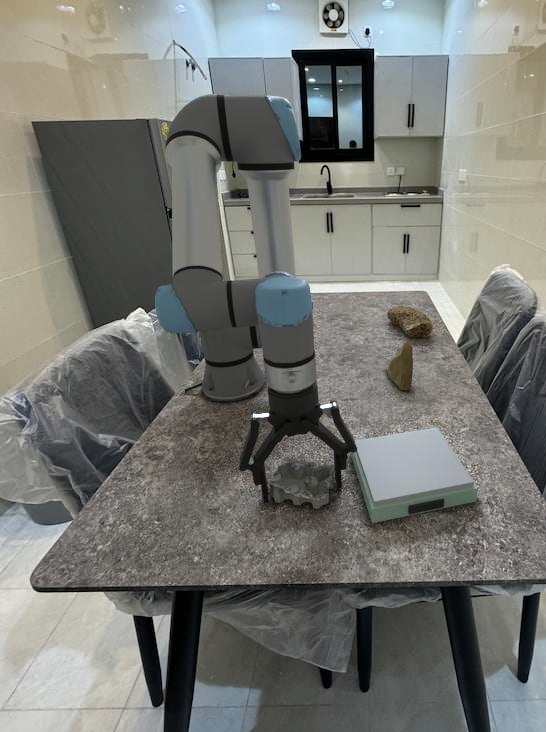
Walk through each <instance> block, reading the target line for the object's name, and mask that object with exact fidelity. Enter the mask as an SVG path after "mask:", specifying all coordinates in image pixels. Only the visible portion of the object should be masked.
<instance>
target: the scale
mask: <svg viewBox="0 0 546 732" xmlns="http://www.w3.org/2000/svg"><path fill="white" fill-rule="evenodd" d="M354 441H355V443H356V446H357V451H356V452H354V453H352V452H350V456H351V460H352V463H353V466H354V470H355V473H356V476H357V479H358V483H359V486H360V489H361V493H362V496H363V499H364V502H365V506H366V508H367V512H368V516H369V519H370V522H371V524H376V523H380V522H386V521H390V520H395V519H400V518H405V517H409V516H413V515H418V514H424V513H427V512H433V511H438V510H444V509H448V508H451V507H457V506H462V505H466V504H470V503H476V502H477V496H478V491H479V490H478V489H479V488H478V486H477V485H476V484H475V481H474V480H473V478H472V477H471V475H470V474H469V472H468V470H467V469H466V468H465V466H464V465H463V463H462V461H461V460H460V459H459V458H458V456H457V454H456V453H455V451H454V449H452V447H451V446H450V444H449V443H448V441H447V440H446V438H445V437H444V435H443V434H442V432H441V431H440V429H439V427H438V426H436V427H429V428H423V429H418V430H417V429H416V430H411V431H405V432H399V433H398V432H397V433H393V434H387V435H381V436H375V437H368V438H362V439H354Z"/></svg>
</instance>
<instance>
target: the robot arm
mask: <svg viewBox="0 0 546 732" xmlns="http://www.w3.org/2000/svg"><path fill="white" fill-rule="evenodd" d="M165 159H166V161H167V163H168V165H169V167H170V168H171V224H172V227H171V231H172V233H171V237H172V238H171V240H172V242H171V243H172V244H171V245H172V249H171V250H172V253H171V254H172V283H168V284H167V285H161V286H158V288H157V289H156V292H155V296H154V306H155V313H156V317H157V320H158V323H159V325H160V327H162V329H163V331H164V332H167V333H169V334H192V333H193V334H197V333H198V334H199V337H200V342H201V348H202V353H203V358H204V362H205V366H204V372H203V378H202V382H200V383H197V384H195V385H192V386H189V387H187V388H184V392H185V393H187V392H189V391H192V390H195V389H196V388H199V387H202V393H203V395H204V397H205V398H207V399H208V400H210V401H213V402H219V403H232V402H238V401H242V400H245V399H248V398H250V397H252V396H254V395H256V394H257V393H259V392H260V391H261V390H262V389H263V388H264V387H265V384H266V385H267V387H266V391H267V398H268V405H269V409H268V411H267V412H265V413H259V412H258V411H257V410H253V411H251V412H250V414H249V415H250V420H249V429H248V433H247V435H246V438H245V441H244V445H243V447H242V450H241V453H240V456H239V461H238V462H239V464H238V470H239V471H240V472H246V471H250V472H251V474H252V475H251V476H252V481H253V484H254V486H255V487H256V486H260V487H261V493H262V499H263V503H264V504H265V503H269V484H268V485H266V483H267V482H268V480H267V471H266V465H265V464H266V463H265V462H266V461H267V460H268V459H269V457H270V455H271V454H272V452H273V451H274V449H275V448H276V447H277V445H278V444H279V443H281V442H282V440H283V439H284V437H285V436H287V438H290V437H291V438H292V437H294V436H297V435H299V436H300V435H301V436H303V435H308V433H309V432H310V434H312V435H313V436H314V437H316V438H318V439H320V440H321V441H322V442H323V443H324V444H325V445H326V446H328V447H329V448H330V449H331V450H332V451H333V465H335V469H334V481H335V485H336V489H338V490H339V489H342V488H343V485H342V484H343V482H342V471H345V470H347V468H348V464H347V463H348V458H349V456H348V454H349V453H351V452H352V453H354V452H356V451H357V446H356V443H355V438H354V436H353V434H352V433H351V431H350V430H349V428H348V426H347V424H346V423H345V421H344V419H343V417H342V416H341V412H340V407H339V403H338V402H337V400H336V399H331V400H330V401H329V403H327V404H322V405H321V404H320V402H319V388H318V387H319V386H318V380H317V378H318V373H317V361H316V360H317V359H316V350H315V335H314V332H315V331H314V318H313V317H314V315H313V313H314V312H313V310H314V302H313V299H312V293H311V286H310V284H309V283H308V282H307V281H306V280H305V279H301V278H300V277H297V271H296V259H295V247H294V234H293V222H292V209H291V197H290V186H289V185H290V183H289V179H290V177H291V176H292V175H293V173H294V172H295V162H296V163H298V162H299V161H300V160H301V159H302V151H301V142H300V136H299V130H298V125H297V121H296V116H295V112H294V110H293V106H292V104H291V103H290V101H289V100H288V99H287V98H286V97H283V96H276V95H268V94H217V93H209V94H208V93H207V94H204V95H201V96H198V97H196V98H194V99H192V100H190V101H189V102H188V103H187V104H185V105H184V106H183V107H182V108H181V109H180V110H179V111H178V112H177V114H176V115H175V116H174V118H173V120H172V122H171V123H170V126H169V128H168V131H167V134H166V139H165ZM223 162H227V163H231V162H233V163H236V164H237V165H236V166H237V171H238V173H239V174H240V175H241V176H243V177H244V179H245V181H246V184H247V192H248V201H249V208H250V209H249V210H250V216H251V223H252V232H253V240H254V248H255V257H256V263H257V272H258V278H247V279H236V280H224V266H223V264H224V263H223V254H222V236H221V219H220V205H219V187H218V173H219V171H220V170H221V167H222V163H223ZM255 349H262V357H263V358H262V359H263V368H264V372H263V370H262V368H261V366H260V364H259V363H258V360H257V359H256V357H255V354H254V350H255ZM323 415H326V417H327V418H329V419H330V420H332V421H333V424H334V425H335V427H336V430H337V431H338V433H339V434H340V436H341V438H342V439H343V441H344V442H343V441H342V440H341V439H339V437H337V436H336V435H335V434H334V433H333V432H332V431H331V430H330V429H329V428H328V427H327V426H325V425H324V424H323V423H322V422H321V420H320V419H321V418H322V416H323ZM266 423H268V424H270V425H271V426H272V427H271V430H270V431H269V433H268V434H267V436H266V438H264V440H263V442H262V443H261V444H260V446H259V447H258V449H257V450H256V451H255V454H253V453H254V449H255V446H256V444H257V441H258V438H259V435H260V431H261V430H262V429H263V428H264V427H265V424H266Z"/></svg>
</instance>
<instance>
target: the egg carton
mask: <svg viewBox="0 0 546 732" xmlns="http://www.w3.org/2000/svg"><path fill="white" fill-rule="evenodd" d="M334 469H335V465H334V464H321V463H317V462H316V461H306V460H300V459H297V458H294V457H289V458H286V459H284V460H282V461H280V463H279V464H278V466H277V468H276V470H274V473H273V476H272V478H269V480H267V483H266V485H268V486H269V493H270V497H272V498H273V499H274V502H275V503H277V504H280V503H282V502H283V501H284V500H290V501H292V503H293V506H301V505H302V504H304V503H310V504H311V505H312V508H313V509H315V510H318V509H320V508H321V507H322V506H324V505H325V506H326V505H327V504H329V501H330V489H333V488H334V485H335V470H334Z"/></svg>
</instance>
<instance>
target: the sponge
mask: <svg viewBox="0 0 546 732" xmlns="http://www.w3.org/2000/svg"><path fill="white" fill-rule="evenodd" d="M386 316H387V319H388V320H389V321H390V322H391V323H393V324H394V325H396V326H398V327H400V328H401V329H402V330H403V332H404V333H405V335H407V336H409V337H410V338H424V339H425V338H428V337H429V336H431V334H432V332H433V329H434V326H433V323H432V321H431V319H430V318H429V317H428V315H426V314H425V313H423V312H421V311H420V310H418V309H416V308H414V307H411V306H406V305H398V306H394V307H392V308H389V310H387V314H386Z"/></svg>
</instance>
